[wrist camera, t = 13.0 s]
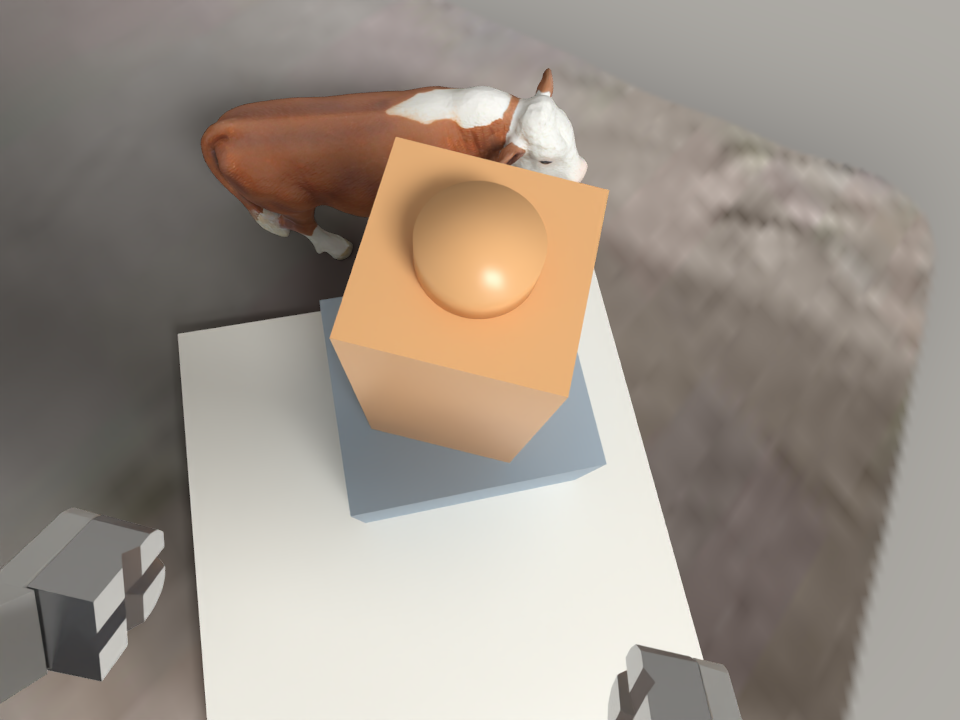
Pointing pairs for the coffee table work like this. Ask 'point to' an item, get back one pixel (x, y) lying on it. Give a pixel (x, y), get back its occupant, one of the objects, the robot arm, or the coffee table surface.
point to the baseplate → (409, 556)
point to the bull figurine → (373, 147)
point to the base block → (451, 453)
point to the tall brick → (468, 299)
